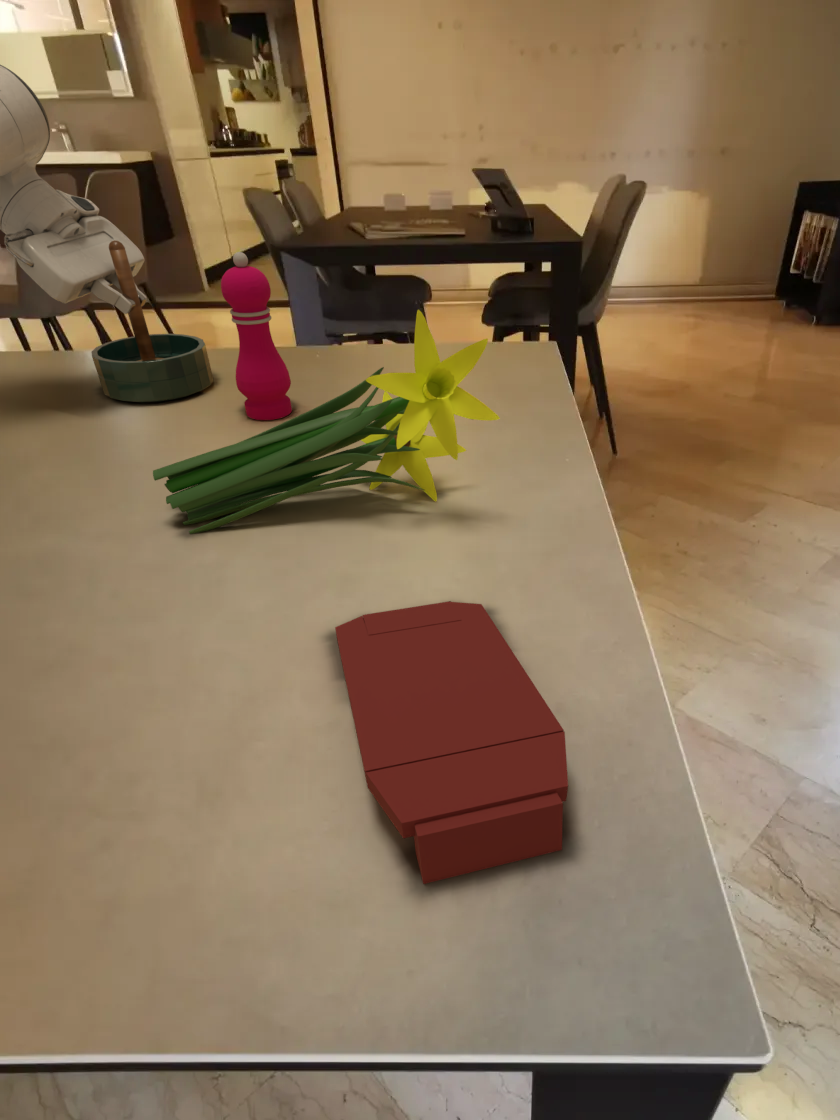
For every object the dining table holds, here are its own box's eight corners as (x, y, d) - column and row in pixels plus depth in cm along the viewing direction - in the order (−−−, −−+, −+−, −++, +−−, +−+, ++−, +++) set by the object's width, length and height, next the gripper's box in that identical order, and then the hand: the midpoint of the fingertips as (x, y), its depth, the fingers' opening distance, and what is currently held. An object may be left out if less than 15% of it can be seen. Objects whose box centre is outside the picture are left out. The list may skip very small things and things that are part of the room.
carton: (342, 671, 59) (387, 897, 38) (333, 619, 57) (377, 830, 36) (479, 647, 62) (593, 846, 41) (477, 596, 59) (597, 780, 38)
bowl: (82, 395, 104) (67, 353, 101) (165, 367, 115) (155, 329, 111) (154, 412, 98) (142, 368, 95) (235, 382, 109) (226, 341, 106)
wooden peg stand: (124, 383, 104) (80, 241, 93) (157, 372, 109) (118, 235, 97) (152, 389, 102) (110, 245, 91) (184, 378, 106) (148, 239, 95)
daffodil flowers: (199, 486, 81) (480, 385, 82) (225, 596, 77) (523, 488, 77) (110, 394, 65) (461, 268, 65) (137, 526, 61) (514, 390, 61)
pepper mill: (232, 418, 97) (196, 255, 84) (260, 402, 102) (230, 246, 90) (278, 424, 95) (248, 258, 83) (305, 407, 100) (279, 248, 88)
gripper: (4, 216, 84) (108, 306, 89) (96, 198, 100) (180, 275, 105) (-14, 257, 87) (87, 342, 92) (78, 233, 103) (160, 306, 108)
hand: (137, 306), depth 99 cm, fingers closed on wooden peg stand
